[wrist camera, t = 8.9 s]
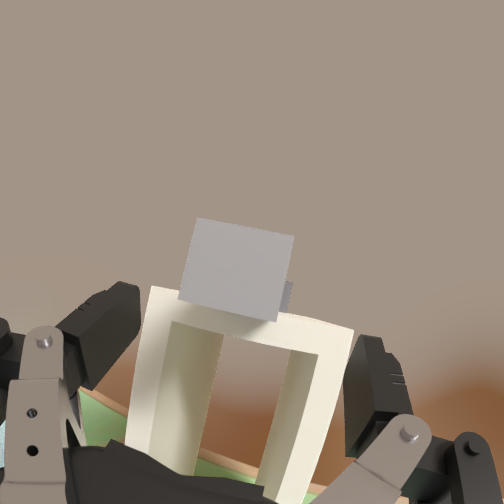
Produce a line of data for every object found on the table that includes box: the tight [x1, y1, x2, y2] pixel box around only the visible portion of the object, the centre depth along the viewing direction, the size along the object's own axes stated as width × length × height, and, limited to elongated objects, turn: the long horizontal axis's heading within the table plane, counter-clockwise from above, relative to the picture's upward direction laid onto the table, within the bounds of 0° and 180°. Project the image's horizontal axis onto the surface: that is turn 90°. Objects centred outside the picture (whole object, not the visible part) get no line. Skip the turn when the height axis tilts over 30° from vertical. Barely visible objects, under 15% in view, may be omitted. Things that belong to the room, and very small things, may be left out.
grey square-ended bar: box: [178, 218, 294, 322], centre depth 29 cm, size 36×6×4 cm, turn 176°
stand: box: [125, 286, 354, 504], centre depth 31 cm, size 26×14×32 cm, turn 176°
